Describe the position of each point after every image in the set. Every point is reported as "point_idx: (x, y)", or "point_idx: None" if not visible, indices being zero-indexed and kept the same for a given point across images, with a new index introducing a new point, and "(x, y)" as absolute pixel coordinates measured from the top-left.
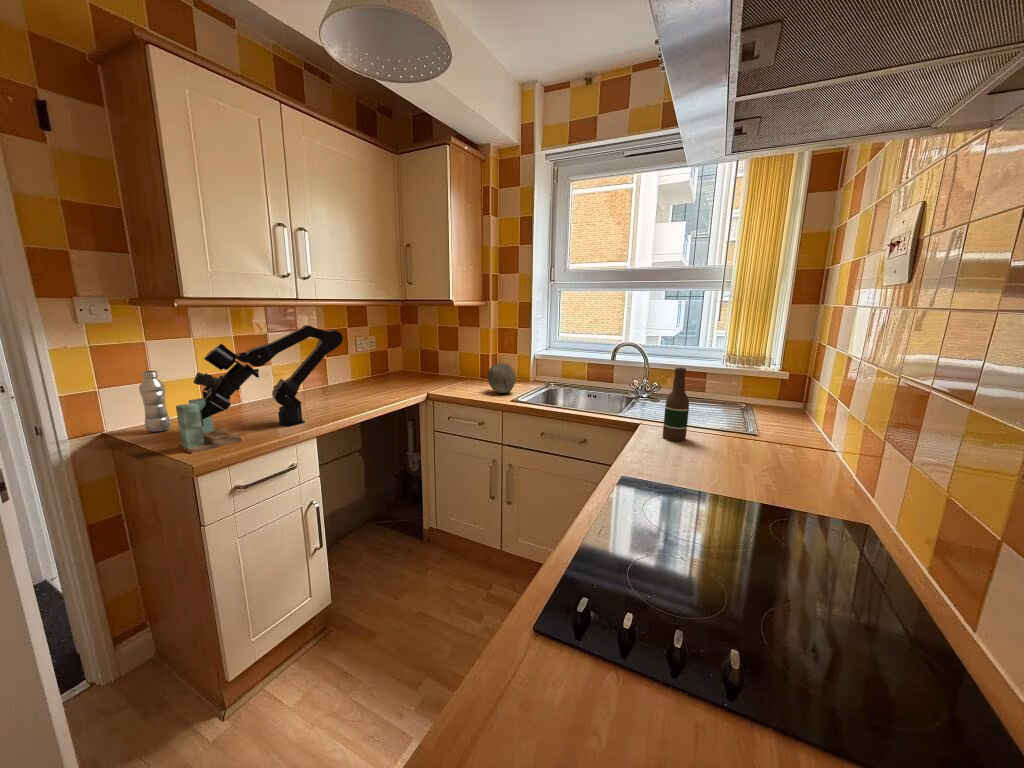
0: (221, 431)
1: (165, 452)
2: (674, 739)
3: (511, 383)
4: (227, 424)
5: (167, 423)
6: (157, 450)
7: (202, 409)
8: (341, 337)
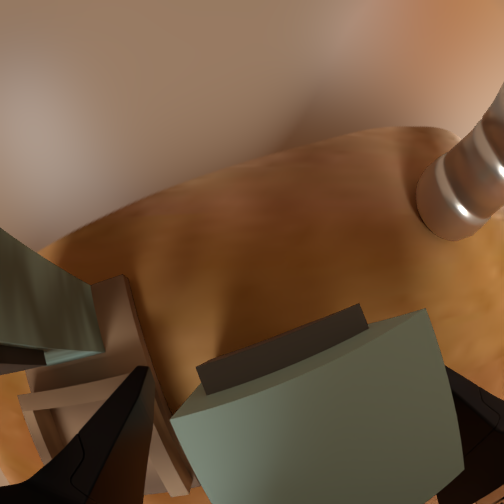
0: (160, 469)
1: (92, 234)
2: None
3: None
4: None
5: (445, 225)
6: (140, 207)
7: (70, 443)
8: None
